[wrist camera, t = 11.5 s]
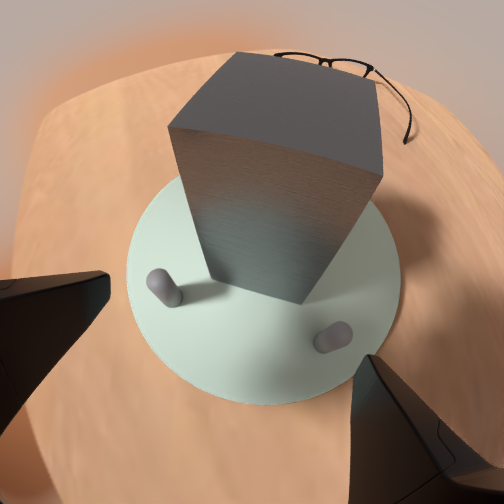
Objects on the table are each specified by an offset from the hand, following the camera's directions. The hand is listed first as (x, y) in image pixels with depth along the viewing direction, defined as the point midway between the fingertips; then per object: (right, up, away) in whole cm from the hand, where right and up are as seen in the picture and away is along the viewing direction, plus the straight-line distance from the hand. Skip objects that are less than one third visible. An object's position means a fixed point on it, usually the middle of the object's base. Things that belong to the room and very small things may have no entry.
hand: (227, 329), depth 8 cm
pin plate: (+2, +2, +11) cm, 12 cm away
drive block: (+2, +2, +10) cm, 11 cm away
